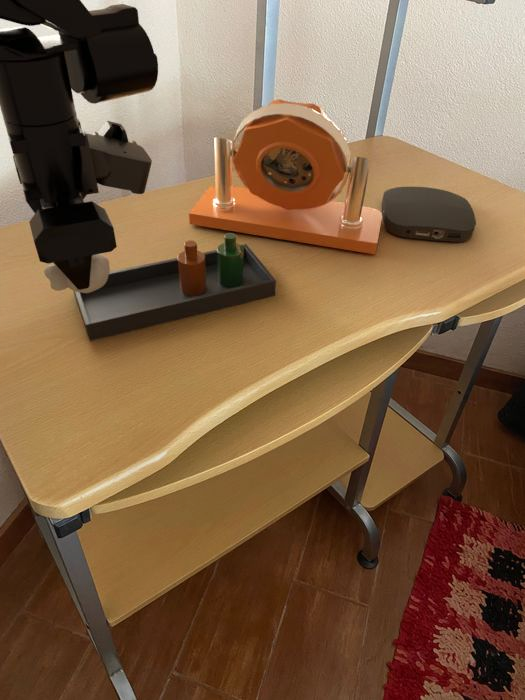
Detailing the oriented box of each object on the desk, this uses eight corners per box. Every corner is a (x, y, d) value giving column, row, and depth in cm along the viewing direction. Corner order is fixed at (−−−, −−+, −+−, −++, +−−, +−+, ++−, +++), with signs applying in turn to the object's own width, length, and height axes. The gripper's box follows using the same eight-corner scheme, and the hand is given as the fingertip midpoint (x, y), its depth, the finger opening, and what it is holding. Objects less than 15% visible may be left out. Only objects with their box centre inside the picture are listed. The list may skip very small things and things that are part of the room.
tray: (89, 341, 64) (85, 325, 62) (74, 295, 71) (70, 279, 69) (275, 295, 72) (276, 280, 71) (245, 258, 79) (246, 243, 77)
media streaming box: (460, 204, 95) (465, 188, 93) (476, 246, 84) (482, 229, 82) (379, 197, 96) (382, 182, 94) (384, 238, 85) (388, 221, 83)
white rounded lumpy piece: (123, 288, 55) (111, 220, 50) (66, 314, 52) (46, 243, 47) (97, 267, 58) (83, 199, 53) (41, 289, 55) (19, 220, 50)
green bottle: (223, 289, 72) (222, 244, 67) (213, 275, 74) (212, 231, 70) (247, 284, 73) (248, 239, 69) (237, 270, 76) (237, 226, 71)
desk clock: (373, 259, 80) (402, 123, 67) (188, 228, 85) (180, 96, 72) (380, 221, 89) (407, 95, 76) (212, 195, 94) (209, 72, 80)
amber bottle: (184, 298, 70) (181, 253, 66) (176, 284, 73) (172, 239, 68) (210, 292, 71) (208, 247, 67) (201, 278, 74) (199, 234, 69)
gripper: (167, 143, 40) (181, 306, 50) (113, 75, 52) (133, 217, 63) (10, 163, 36) (61, 335, 47) (-8, 85, 49) (35, 235, 59)
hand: (78, 272), depth 54 cm, fingers closed on white rounded lumpy piece, 5 cm apart
